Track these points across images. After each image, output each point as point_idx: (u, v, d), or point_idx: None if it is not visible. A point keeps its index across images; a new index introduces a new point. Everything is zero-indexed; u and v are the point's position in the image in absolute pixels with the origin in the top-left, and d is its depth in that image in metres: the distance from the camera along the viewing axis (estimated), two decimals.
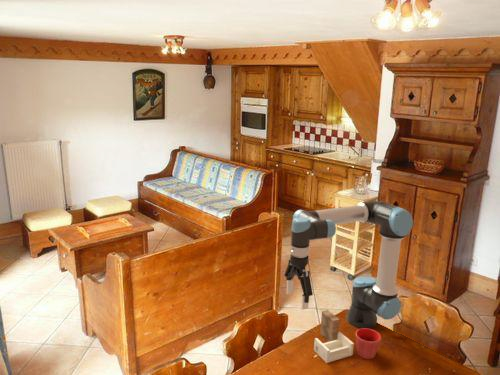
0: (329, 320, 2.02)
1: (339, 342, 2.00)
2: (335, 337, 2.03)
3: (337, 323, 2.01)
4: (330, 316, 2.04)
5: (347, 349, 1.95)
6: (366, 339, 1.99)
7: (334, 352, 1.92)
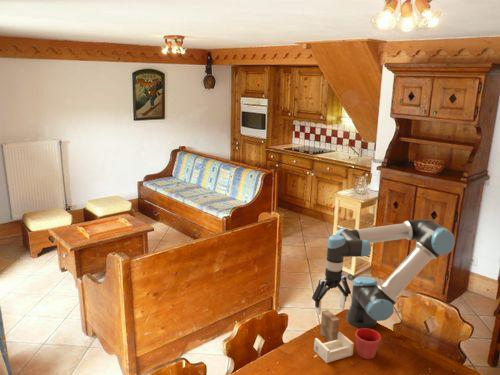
0: (329, 320, 2.02)
1: (339, 342, 2.00)
2: (335, 337, 2.03)
3: (337, 323, 2.01)
4: (330, 316, 2.04)
5: (347, 349, 1.95)
6: (366, 339, 1.99)
7: (334, 352, 1.92)
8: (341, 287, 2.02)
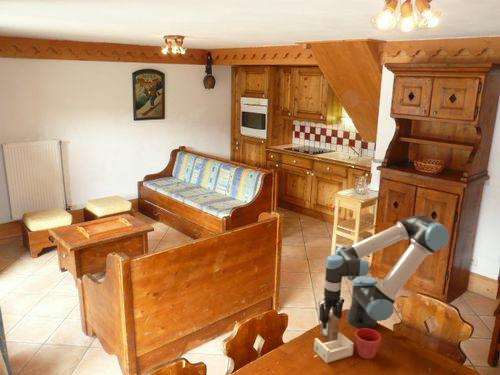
0: (329, 320, 2.02)
1: (339, 342, 2.00)
2: (335, 337, 2.03)
3: (337, 323, 2.01)
4: (330, 316, 2.04)
5: (347, 349, 1.95)
6: (366, 339, 1.99)
7: (334, 352, 1.92)
8: (336, 309, 2.04)
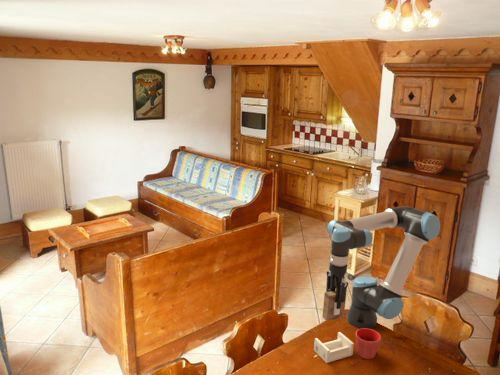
0: None
1: (339, 342, 2.00)
2: None
3: None
4: None
5: (347, 349, 1.95)
6: (366, 339, 1.99)
7: (334, 352, 1.92)
8: None
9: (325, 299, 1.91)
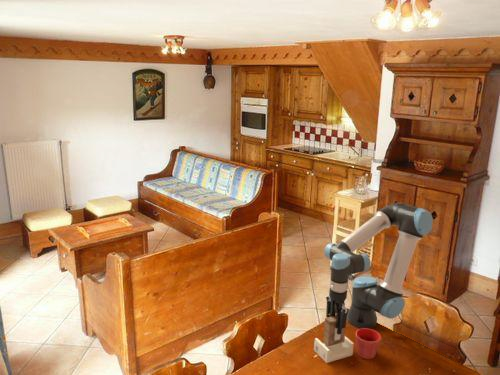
0: None
1: None
2: None
3: None
4: None
5: (347, 349, 1.95)
6: (366, 339, 1.99)
7: (334, 352, 1.92)
8: None
9: (326, 325, 1.91)
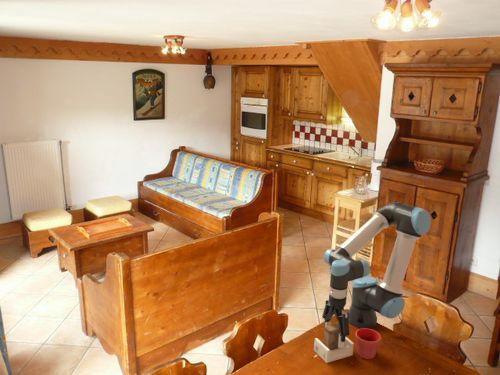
0: None
1: None
2: None
3: None
4: (337, 327, 1.93)
5: (347, 349, 1.95)
6: (366, 339, 1.99)
7: (334, 352, 1.92)
8: None
9: (325, 334, 1.92)
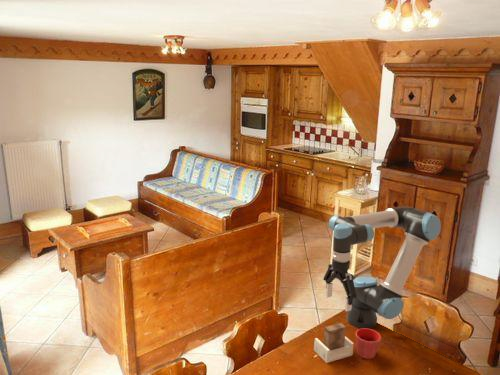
0: (340, 330, 1.92)
1: None
2: None
3: None
4: (337, 327, 1.93)
5: (347, 349, 1.95)
6: (366, 339, 1.99)
7: (334, 352, 1.92)
8: None
9: (325, 334, 1.92)
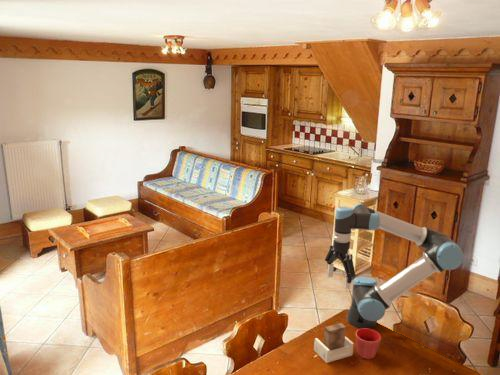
0: (340, 330, 1.92)
1: None
2: None
3: None
4: (337, 327, 1.93)
5: (347, 349, 1.95)
6: (366, 339, 1.99)
7: (334, 352, 1.92)
8: None
9: (325, 334, 1.92)
